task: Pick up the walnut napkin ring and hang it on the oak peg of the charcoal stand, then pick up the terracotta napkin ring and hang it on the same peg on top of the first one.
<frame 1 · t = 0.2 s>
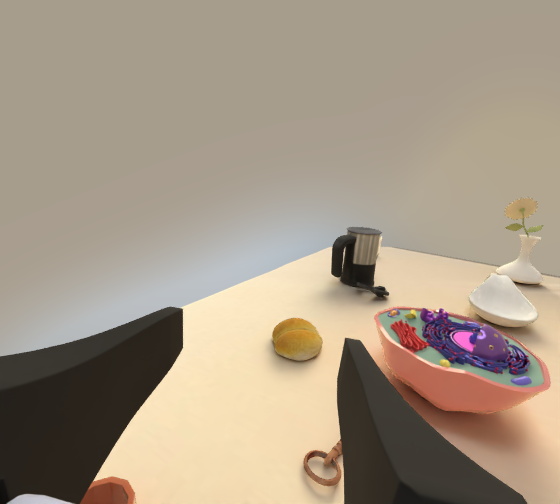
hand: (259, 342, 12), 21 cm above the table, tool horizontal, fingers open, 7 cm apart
cell model: (437, 389, 40), on the table
bread roll: (295, 346, 48), on the table
key: (346, 430, 32), on the table
shot glass: (370, 253, 109), on the table
flower in vase: (513, 280, 87), on the table
milk frother: (363, 287, 75), on the table
spoon rest: (493, 310, 65), on the table
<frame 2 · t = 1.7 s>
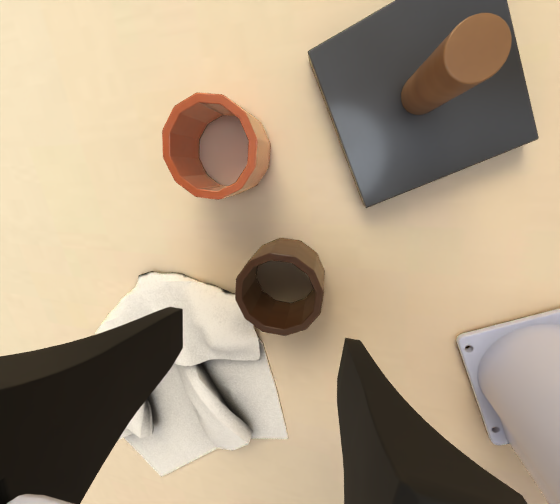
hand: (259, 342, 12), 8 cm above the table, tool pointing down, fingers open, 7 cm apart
cloth: (171, 385, 25), on the table
walnut ring: (286, 274, 20), on the table
peg stand: (414, 99, 16), on the table
terracotta ring: (230, 152, 18), on the table
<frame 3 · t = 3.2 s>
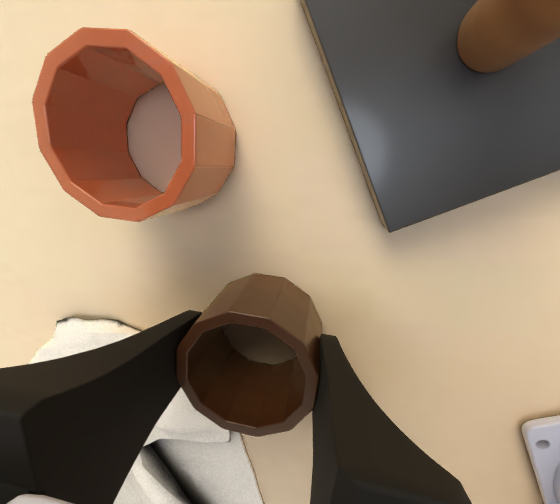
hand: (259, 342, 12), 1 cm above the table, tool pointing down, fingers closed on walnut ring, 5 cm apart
cloth: (114, 461, 18), on the table
walnut ring: (265, 325, 13), on the table, touching gripper
peg stand: (473, 50, 9), on the table
terracotta ring: (175, 143, 12), on the table
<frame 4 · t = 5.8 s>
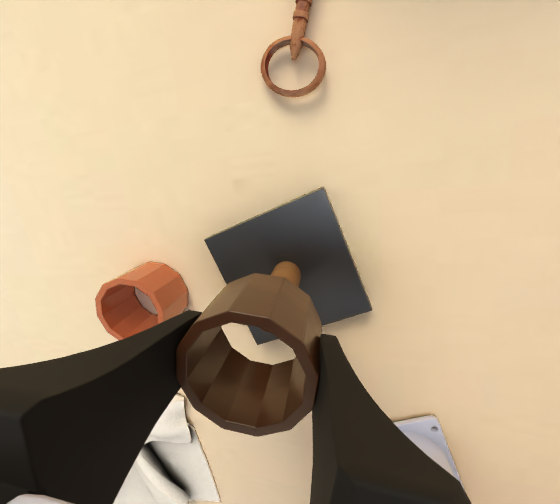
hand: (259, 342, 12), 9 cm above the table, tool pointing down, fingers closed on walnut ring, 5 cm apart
cloth: (124, 454, 30), on the table
walnut ring: (265, 325, 13), point 8 cm above the table, touching gripper
peg stand: (289, 268, 21), on the table
terracotta ring: (158, 292, 23), on the table
when the fingers open (3 cm above the table, at t = 8.4 s): walnut ring stays where it is, resting on peg stand.
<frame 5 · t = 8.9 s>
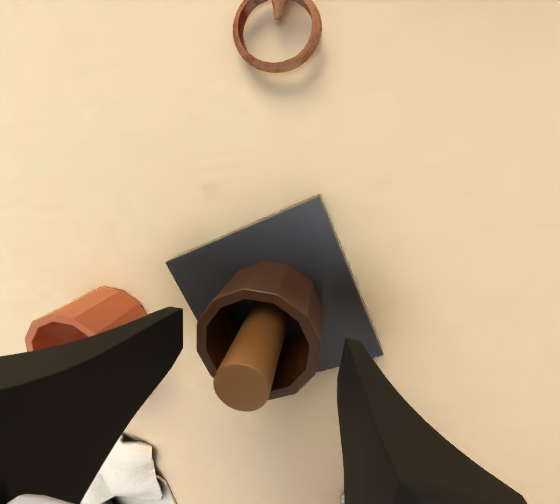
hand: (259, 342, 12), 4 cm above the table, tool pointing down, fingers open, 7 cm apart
walnut ring: (271, 307, 15), point 1 cm above the table, touching peg stand
peg stand: (276, 298, 16), on the table
terracotta ring: (115, 323, 19), on the table
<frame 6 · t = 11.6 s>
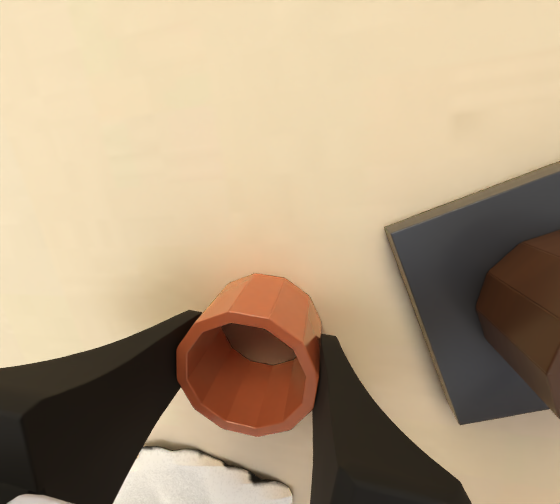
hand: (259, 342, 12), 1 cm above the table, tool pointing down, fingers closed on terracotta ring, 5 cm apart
peg stand: (536, 288, 11), on the table
terracotta ring: (265, 325, 13), on the table, touching gripper
when the fingers open (6 cm above the table, at t = 15.7 s): terracotta ring stays where it is, resting on walnut ring.
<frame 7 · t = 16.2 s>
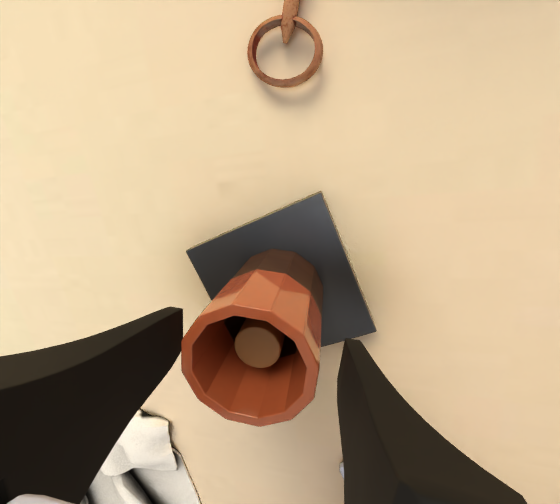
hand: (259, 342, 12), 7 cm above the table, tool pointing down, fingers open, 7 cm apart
cloth: (106, 479, 28), on the table
walnut ring: (279, 290, 17), point 1 cm above the table, touching peg stand, terracotta ring
peg stand: (282, 283, 18), on the table
terracotta ring: (266, 320, 14), point 5 cm above the table, touching walnut ring
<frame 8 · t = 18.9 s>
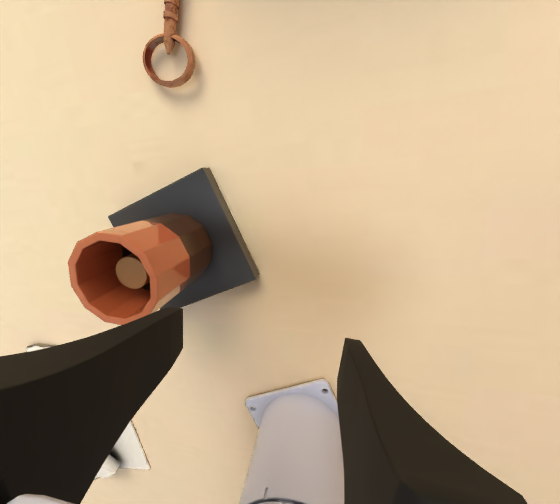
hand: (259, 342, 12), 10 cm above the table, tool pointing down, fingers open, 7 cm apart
cloth: (62, 425, 32), on the table
walnut ring: (180, 247, 22), point 1 cm above the table, touching peg stand, terracotta ring
peg stand: (188, 243, 23), on the table
terracotta ring: (152, 260, 18), point 5 cm above the table, touching walnut ring
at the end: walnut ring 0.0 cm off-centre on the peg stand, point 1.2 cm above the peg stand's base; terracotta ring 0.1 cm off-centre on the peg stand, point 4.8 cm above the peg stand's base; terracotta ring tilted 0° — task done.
